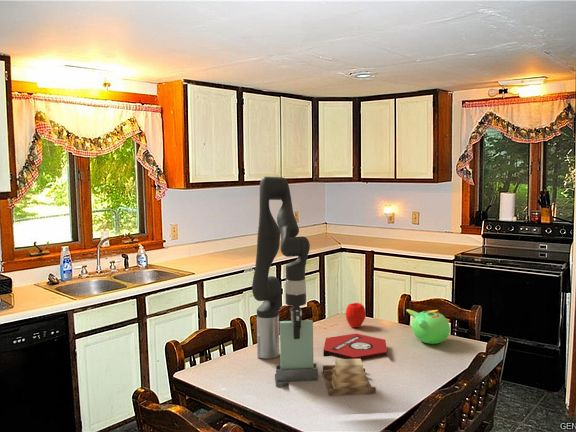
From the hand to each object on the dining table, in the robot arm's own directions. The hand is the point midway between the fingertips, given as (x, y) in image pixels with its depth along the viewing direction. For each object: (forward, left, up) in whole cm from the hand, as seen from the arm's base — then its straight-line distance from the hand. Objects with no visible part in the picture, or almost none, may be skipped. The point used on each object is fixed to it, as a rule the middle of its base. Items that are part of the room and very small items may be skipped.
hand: (296, 337), depth 194 cm
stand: (0, 0, -17) cm, 17 cm away
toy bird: (+62, +36, -17) cm, 74 cm away
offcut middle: (+17, -11, -12) cm, 24 cm away
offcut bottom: (+17, -11, -15) cm, 25 cm away
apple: (+34, +62, -17) cm, 73 cm away
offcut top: (+17, -11, -9) cm, 22 cm away
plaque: (+27, +28, -17) cm, 43 cm away
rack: (+17, -7, -17) cm, 25 cm away
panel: (0, 0, -12) cm, 12 cm away
